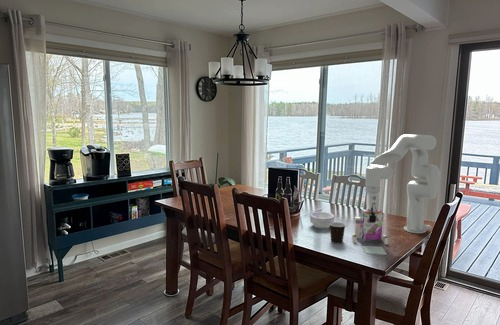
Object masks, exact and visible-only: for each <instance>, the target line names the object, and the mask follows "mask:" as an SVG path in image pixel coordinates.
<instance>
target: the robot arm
mask: <svg viewBox="0 0 500 325" xmlns="http://www.w3.org/2000/svg"><path fill="white" fill-rule="evenodd" d="M436 146H437V139H436V137H435V136H434V135H429V134H414V133H413V134H411V133H410V134H409V133H405V134H402V135H400V136H399V137H397V139H396V141H395V142H394V143H393V145H392V146H391V147H390V148H389V149H388V150H386V151H385V152H383V153H380V154H379V155H377V156H376V157H374V158H373V160H371V162H370V163H369V165H368V166H367V167H366V168H365V183H364V185H365V186H364V189H365V190H364V191H365V192H366V200H365V201H366V202H365V203H366V207H367V209H369V210H370V216H369V222H370V223H375V222H376V210H377V211H378V210H379V205H380V204H379V200H380V199H379V193H380V192H381V191H380V189H381V180H389V179H391V178H393V175H394V172H395V171H394V169H393V168H392V167H390V166H388V165H387V164H390V163H396V162H399V161H401V160H403V159H404V157H405V155H406V154H407V153H408V152H409V150H410V152H411V154H412V162H411V172H410V173H411V177H413V178H415V180H409V182H408V183H407V184H406V194H407V207H406V225H404V226H403V231H405V232H408V233H412V234H425V233H426V230H427V229H428V230H429V229H430V230H432V229H433V228H432V225H428V224H425V223H424V222H425V221H424V220H425V219H424V218H425V200H424V199H429V200H433V199H435V198H437V195H438V193H439V188H440V187H439V185H440V178H441V171H440V168H439V166H438V165H435V164H429V153H428V151H431V150H433V149H435V148H436ZM417 179H418V180H417ZM421 180H422V181H421ZM423 180H424V181H423ZM371 209H373V210H371ZM371 211H373V212H372V213H371Z"/></svg>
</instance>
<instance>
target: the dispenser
mask: <svg viewBox="0 0 500 325" xmlns="http://www.w3.org/2000/svg"><path fill="white" fill-rule="evenodd" d="M353 229H354V231H353V233H351V241H352V243H353V244H357V239H361V238H360V237H359V235H360V216H354V228H353ZM388 239H389V236H388V235H386V234H382V238H381V241H382V243H383V244H384V245H388V242H389V241H388Z"/></svg>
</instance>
